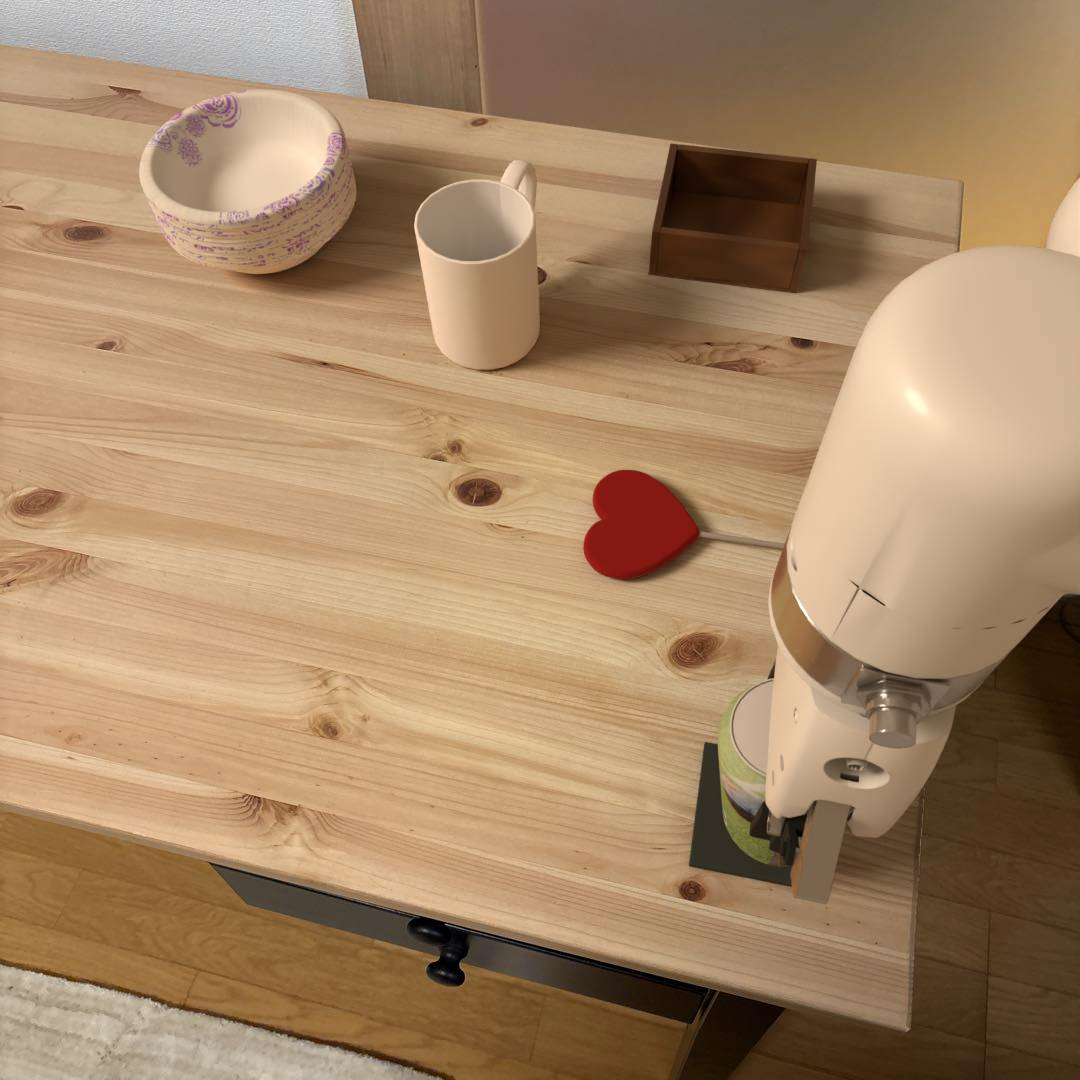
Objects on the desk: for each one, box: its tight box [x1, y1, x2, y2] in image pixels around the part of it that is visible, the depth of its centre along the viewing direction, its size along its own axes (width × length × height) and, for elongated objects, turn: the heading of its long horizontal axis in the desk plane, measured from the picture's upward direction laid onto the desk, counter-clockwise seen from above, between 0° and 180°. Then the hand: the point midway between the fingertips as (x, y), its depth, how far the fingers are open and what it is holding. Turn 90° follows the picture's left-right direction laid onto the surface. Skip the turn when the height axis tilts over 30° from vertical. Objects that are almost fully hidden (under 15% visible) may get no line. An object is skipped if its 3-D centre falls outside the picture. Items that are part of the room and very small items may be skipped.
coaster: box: [688, 741, 792, 888], centre depth 55 cm, size 7×7×1 cm
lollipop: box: [582, 469, 785, 580], centre depth 64 cm, size 8×1×15 cm
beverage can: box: [717, 678, 792, 867], centre depth 49 cm, size 6×7×12 cm
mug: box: [413, 159, 541, 371], centre depth 70 cm, size 12×8×10 cm, turn 156°
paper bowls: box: [138, 88, 357, 275], centre depth 77 cm, size 15×15×8 cm
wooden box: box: [648, 142, 818, 294], centre depth 76 cm, size 11×10×4 cm
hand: (789, 765), depth 48 cm, fingers closed on beverage can, 6 cm apart
